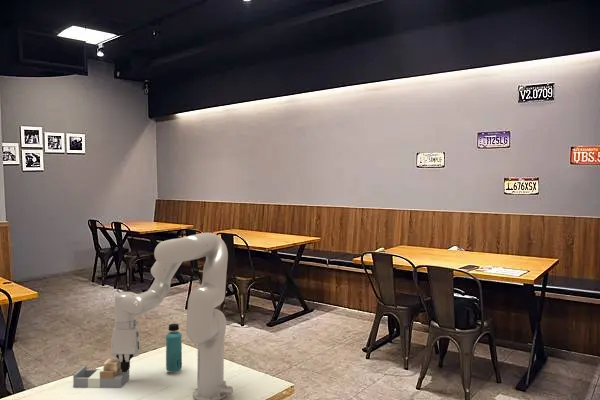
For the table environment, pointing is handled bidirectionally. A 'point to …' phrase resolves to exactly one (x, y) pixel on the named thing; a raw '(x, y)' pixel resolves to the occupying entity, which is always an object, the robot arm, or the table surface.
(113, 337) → the robot arm
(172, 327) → the beverage bottle
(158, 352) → the table surface
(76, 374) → the grey open boxy piece
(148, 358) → the table surface
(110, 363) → the maple block
